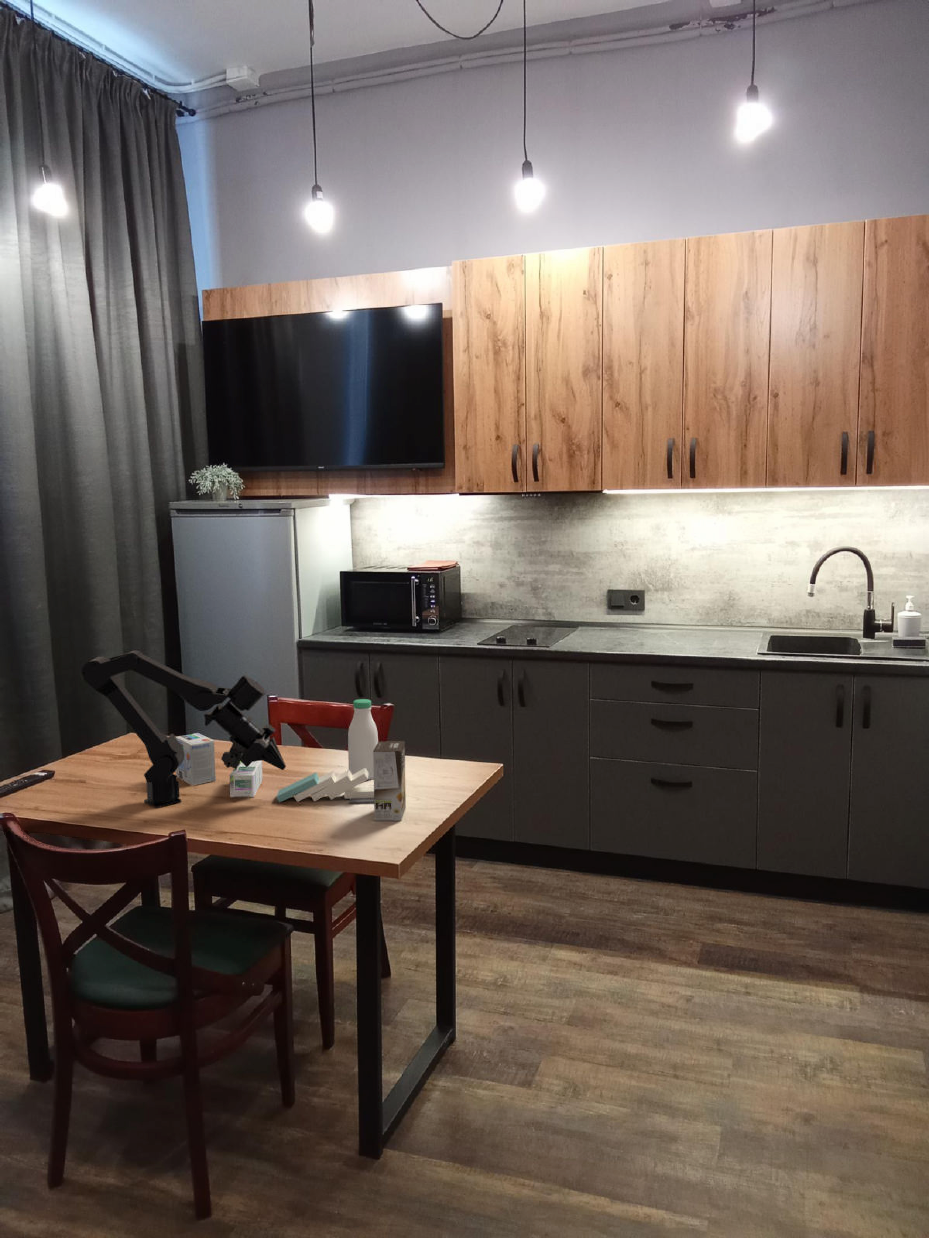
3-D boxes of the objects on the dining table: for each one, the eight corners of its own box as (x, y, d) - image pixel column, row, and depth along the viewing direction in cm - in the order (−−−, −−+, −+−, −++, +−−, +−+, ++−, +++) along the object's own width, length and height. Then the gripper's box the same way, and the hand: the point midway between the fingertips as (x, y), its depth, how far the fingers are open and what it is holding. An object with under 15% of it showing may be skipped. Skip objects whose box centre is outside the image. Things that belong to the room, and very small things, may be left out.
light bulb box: (175, 776, 247) (173, 736, 246) (200, 772, 251) (198, 732, 250) (191, 786, 239) (189, 744, 237) (217, 781, 243) (215, 740, 241)
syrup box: (262, 758, 243) (253, 773, 228) (262, 780, 243) (253, 797, 229) (239, 758, 242) (228, 774, 228) (240, 781, 243) (229, 798, 229)
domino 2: (294, 796, 225) (331, 776, 225) (296, 789, 230) (333, 770, 230) (297, 801, 226) (334, 782, 225) (299, 795, 230) (336, 776, 230)
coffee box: (402, 821, 212) (401, 751, 210) (373, 821, 212) (372, 751, 210) (406, 807, 221) (405, 740, 219) (378, 807, 221) (377, 740, 219)
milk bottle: (384, 777, 245) (382, 701, 242) (357, 782, 241) (355, 705, 238) (369, 770, 251) (368, 696, 249) (343, 775, 247) (341, 699, 244)
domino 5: (344, 792, 226) (386, 790, 227) (345, 785, 231) (387, 784, 231) (344, 798, 226) (386, 797, 227) (346, 792, 231) (387, 791, 232)
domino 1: (276, 796, 225) (314, 778, 225) (279, 790, 230) (316, 772, 230) (279, 802, 225) (317, 784, 225) (282, 795, 230) (319, 778, 230)
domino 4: (327, 794, 226) (364, 773, 226) (329, 787, 231) (365, 767, 231) (331, 799, 226) (367, 779, 226) (332, 793, 231) (368, 773, 231)
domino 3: (310, 795, 225) (347, 775, 225) (313, 789, 230) (348, 769, 230) (314, 801, 226) (351, 781, 226) (316, 794, 231) (352, 775, 230)
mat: (349, 803, 224) (349, 801, 224) (351, 790, 234) (351, 788, 234) (392, 802, 224) (392, 800, 224) (392, 789, 234) (392, 787, 234)
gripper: (220, 738, 234) (266, 780, 236) (204, 758, 216) (255, 804, 218) (251, 706, 234) (297, 749, 236) (238, 724, 215) (288, 770, 217)
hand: (284, 768), depth 227 cm, fingers closed
